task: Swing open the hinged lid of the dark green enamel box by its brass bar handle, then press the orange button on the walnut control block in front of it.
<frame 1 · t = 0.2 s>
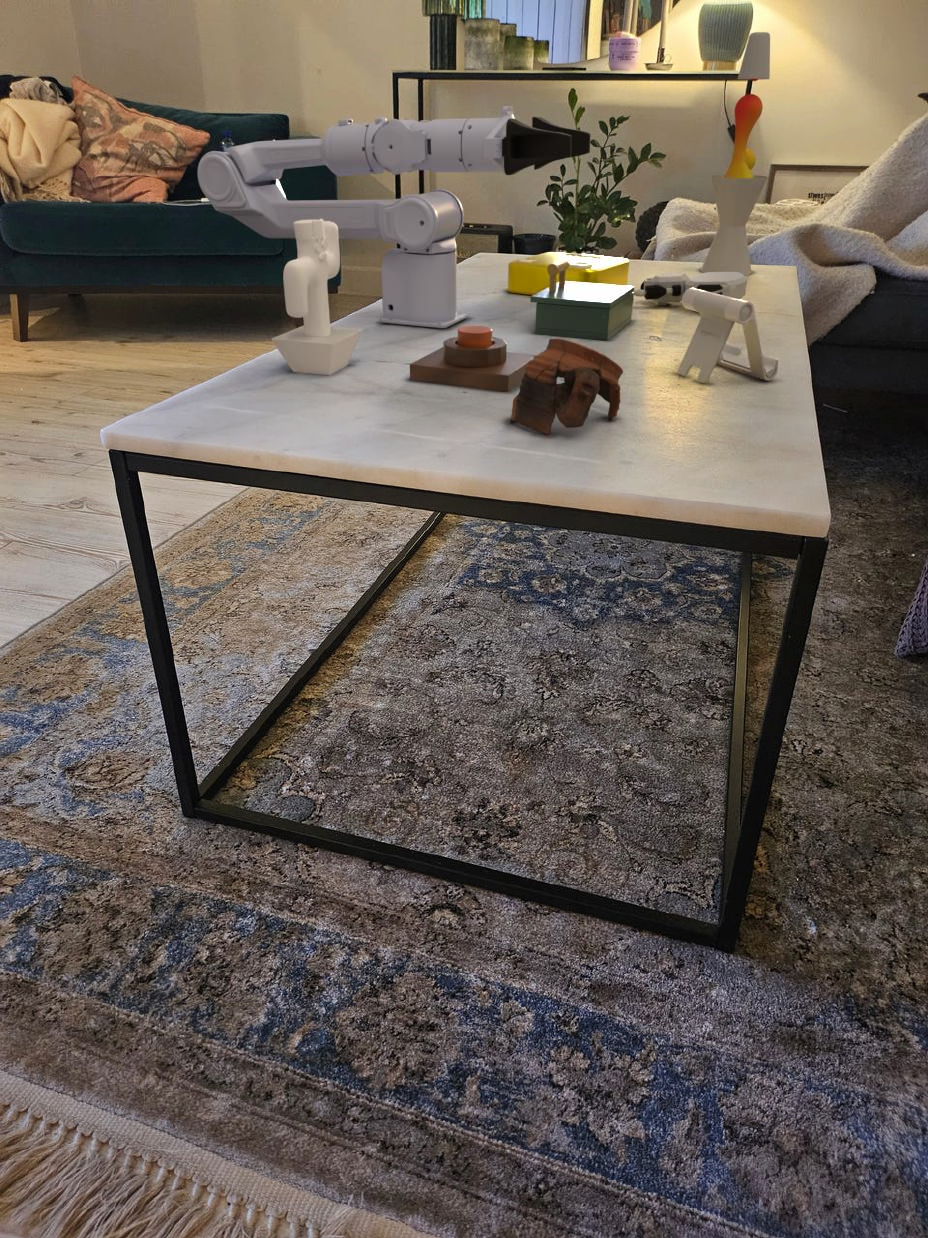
hand: (580, 144, 100), 21 cm above the table, tool horizontal, fingers open, 7 cm apart
lava lamp: (725, 272, 154), on the table
brown arched sculpture: (566, 426, 80), on the table
enamel box: (584, 327, 115), on the table
control block: (474, 375, 94), on the table
button: (474, 337, 92), point 4 cm above the table, slide at 0.1 cm
robot toy: (689, 307, 127), on the table
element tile: (567, 291, 138), on the table
tablet stand: (719, 376, 95), on the table
lid: (584, 279, 112), point 6 cm above the table, hinge at 0.0°
figurine: (320, 370, 96), on the table
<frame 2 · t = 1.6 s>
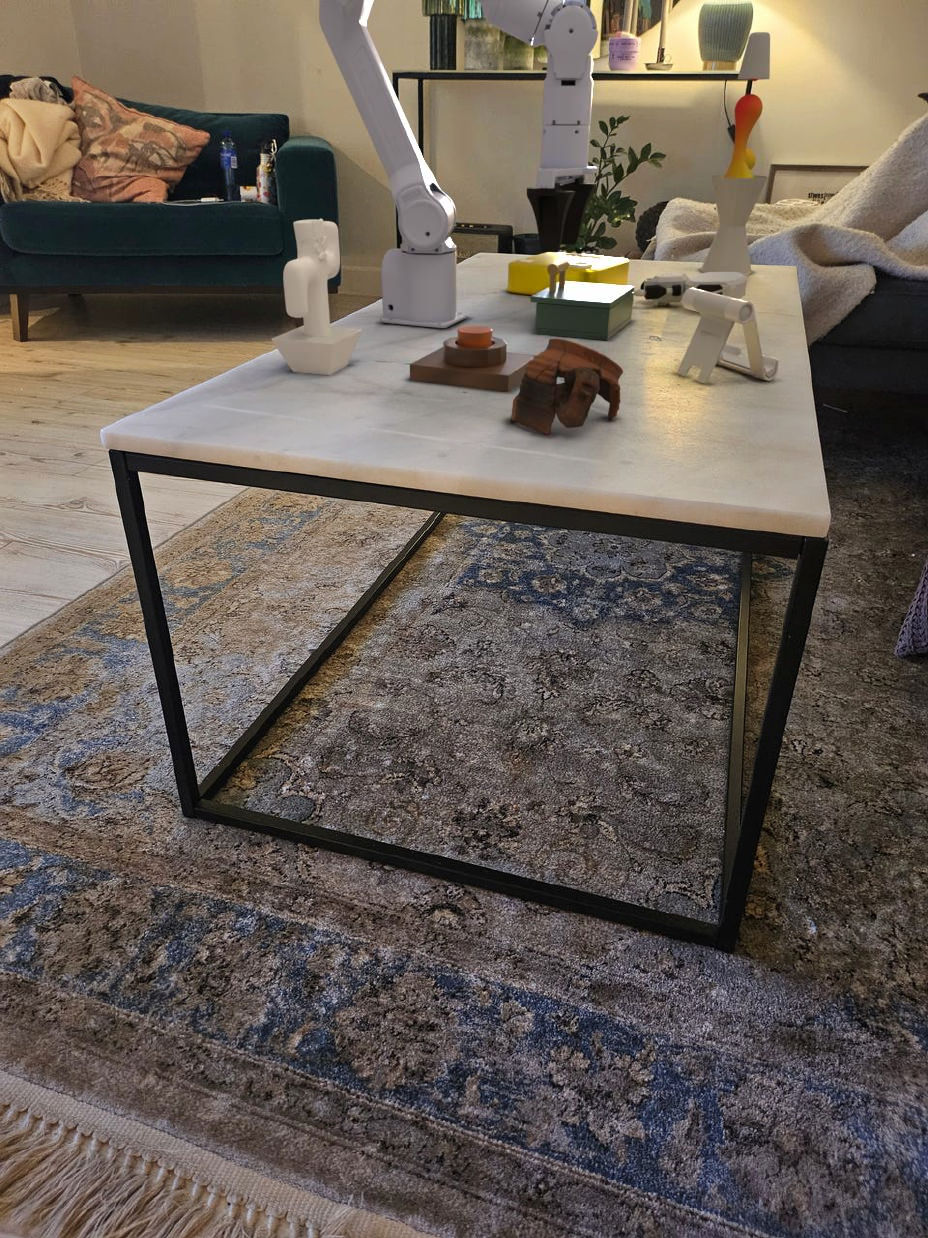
hand: (559, 247, 111), 9 cm above the table, tool pointing down, fingers open, 7 cm apart
nothing on the table moved.
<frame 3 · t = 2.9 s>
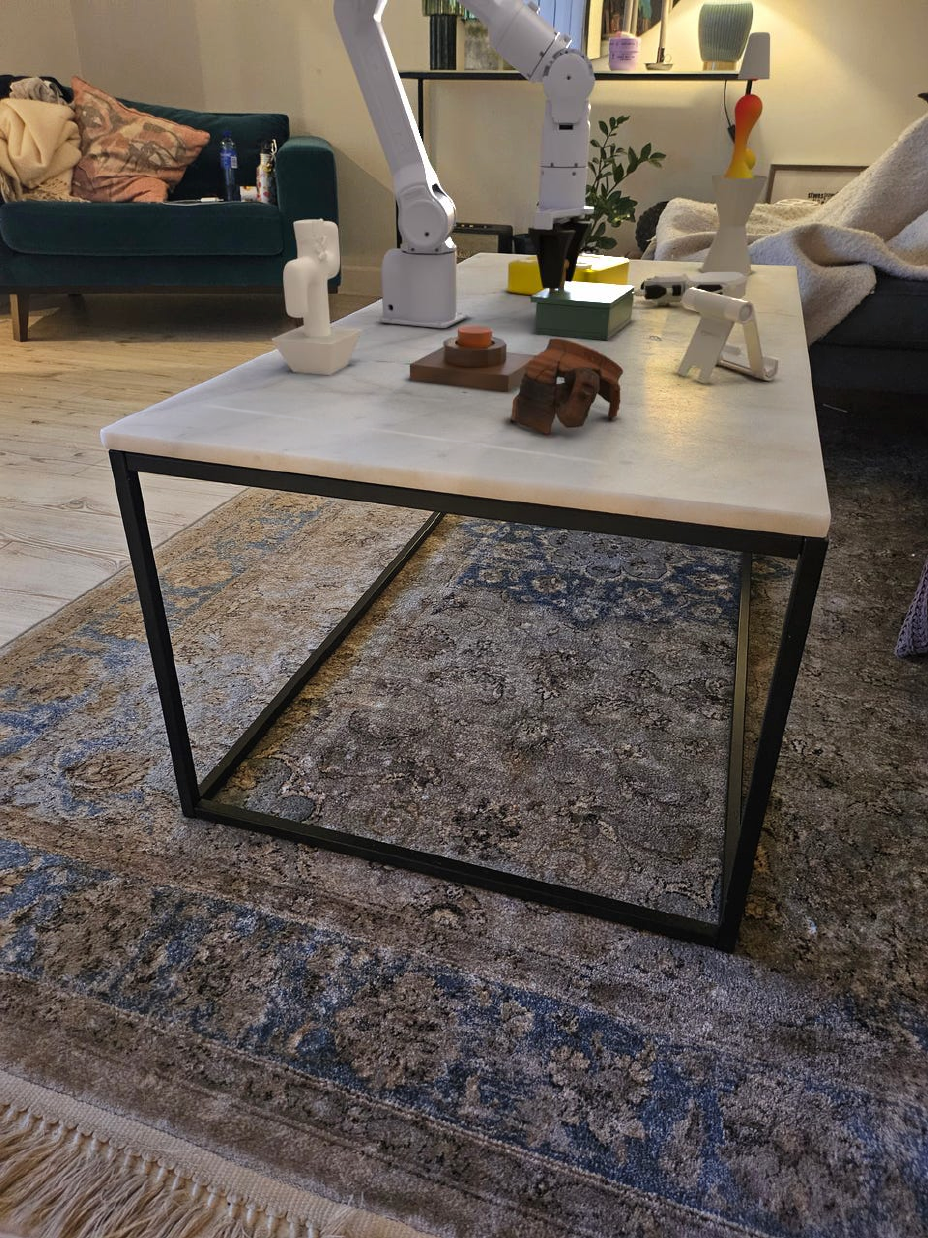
hand: (557, 284, 113), 5 cm above the table, tool pointing down, fingers closed on lid, 5 cm apart
lid: (584, 279, 112), point 6 cm above the table, hinge at 0.0°, touching gripper
everything else where it was.
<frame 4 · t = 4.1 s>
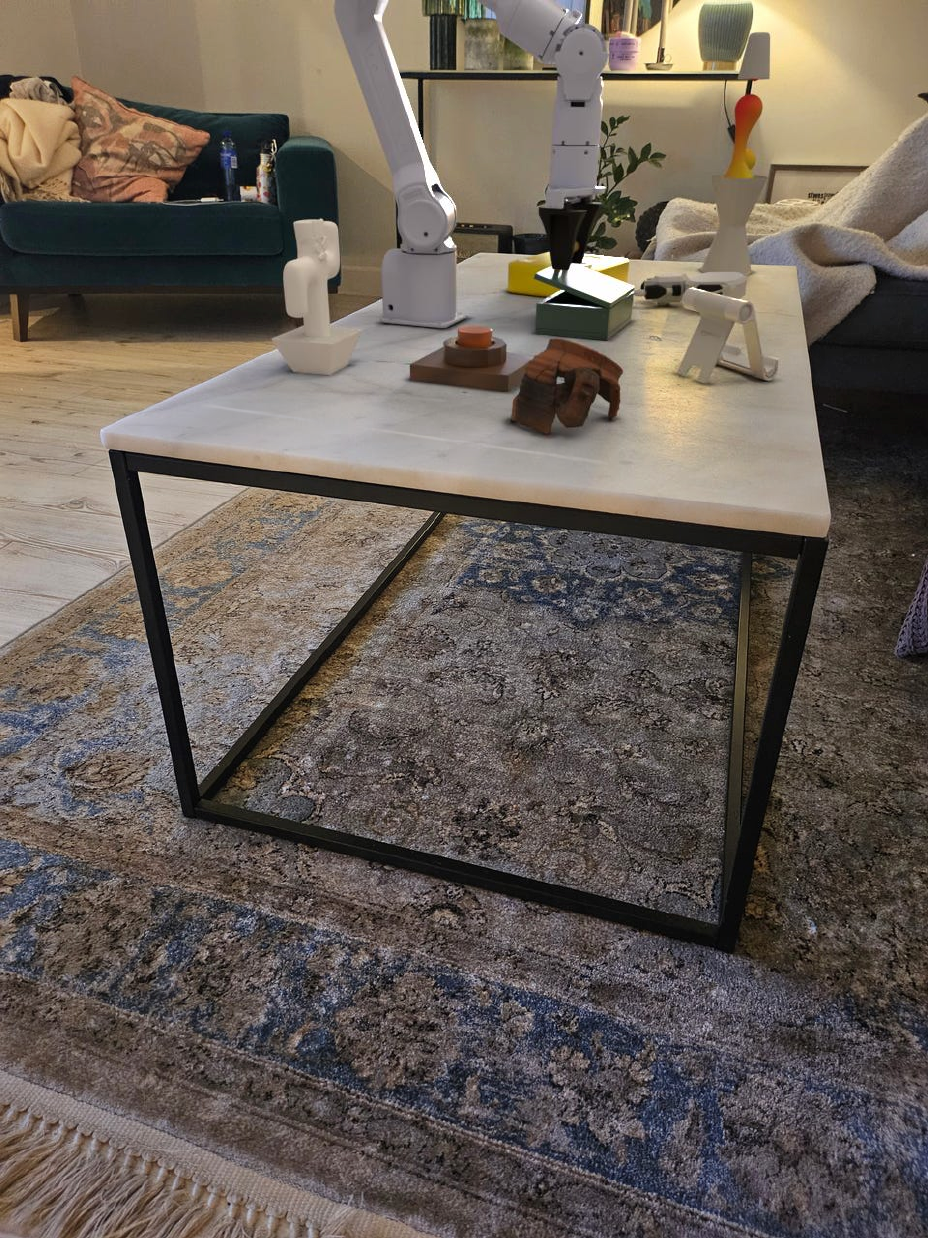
hand: (567, 266, 112), 7 cm above the table, tool pointing down, fingers closed on lid, 5 cm apart
lid: (590, 269, 111), point 7 cm above the table, hinge at 15.8°, touching gripper
everything else where it was.
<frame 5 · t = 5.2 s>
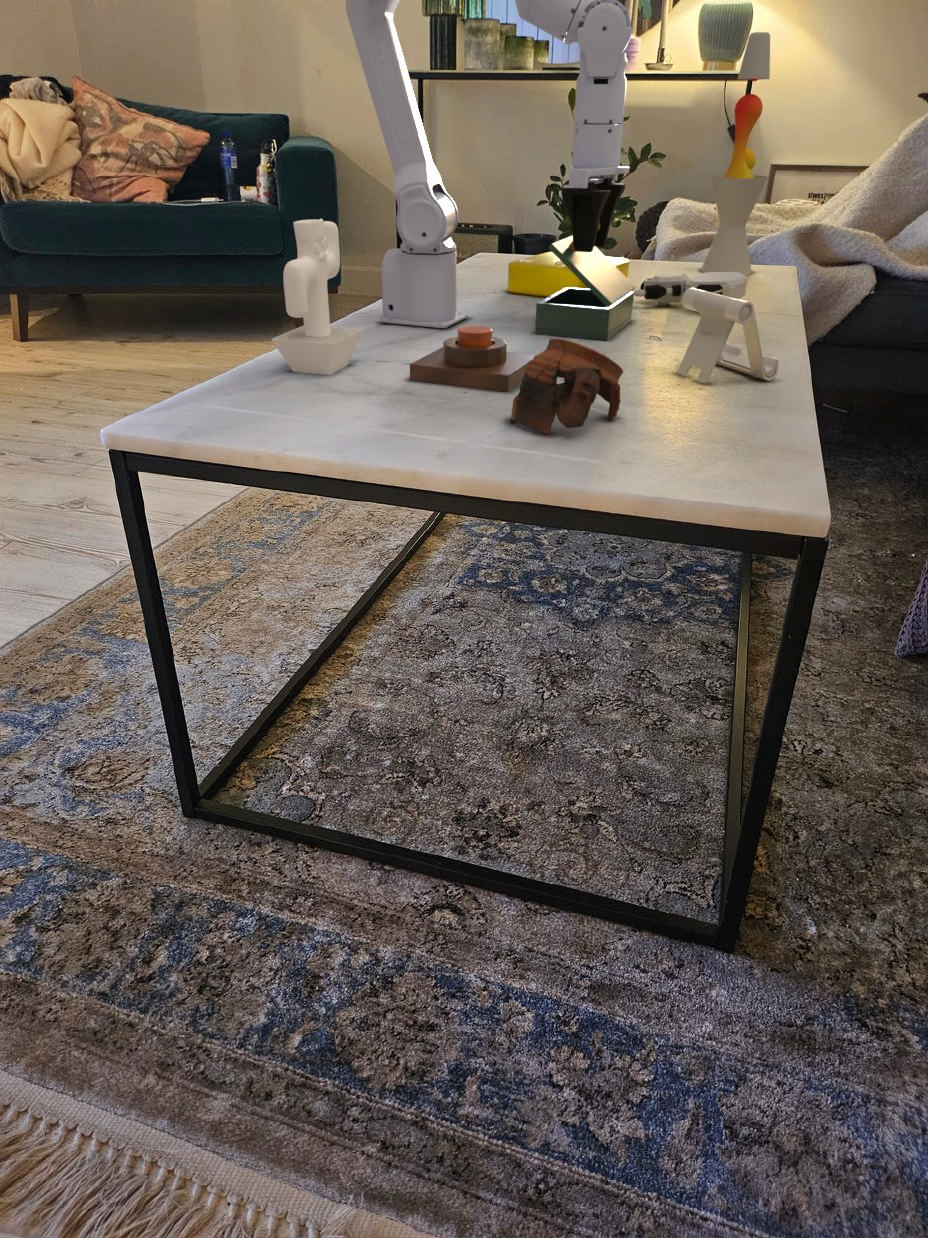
hand: (589, 248, 110), 10 cm above the table, tool pointing down, fingers closed on lid, 5 cm apart
lid: (603, 257, 110), point 9 cm above the table, hinge at 38.4°, touching gripper
everything else where it was.
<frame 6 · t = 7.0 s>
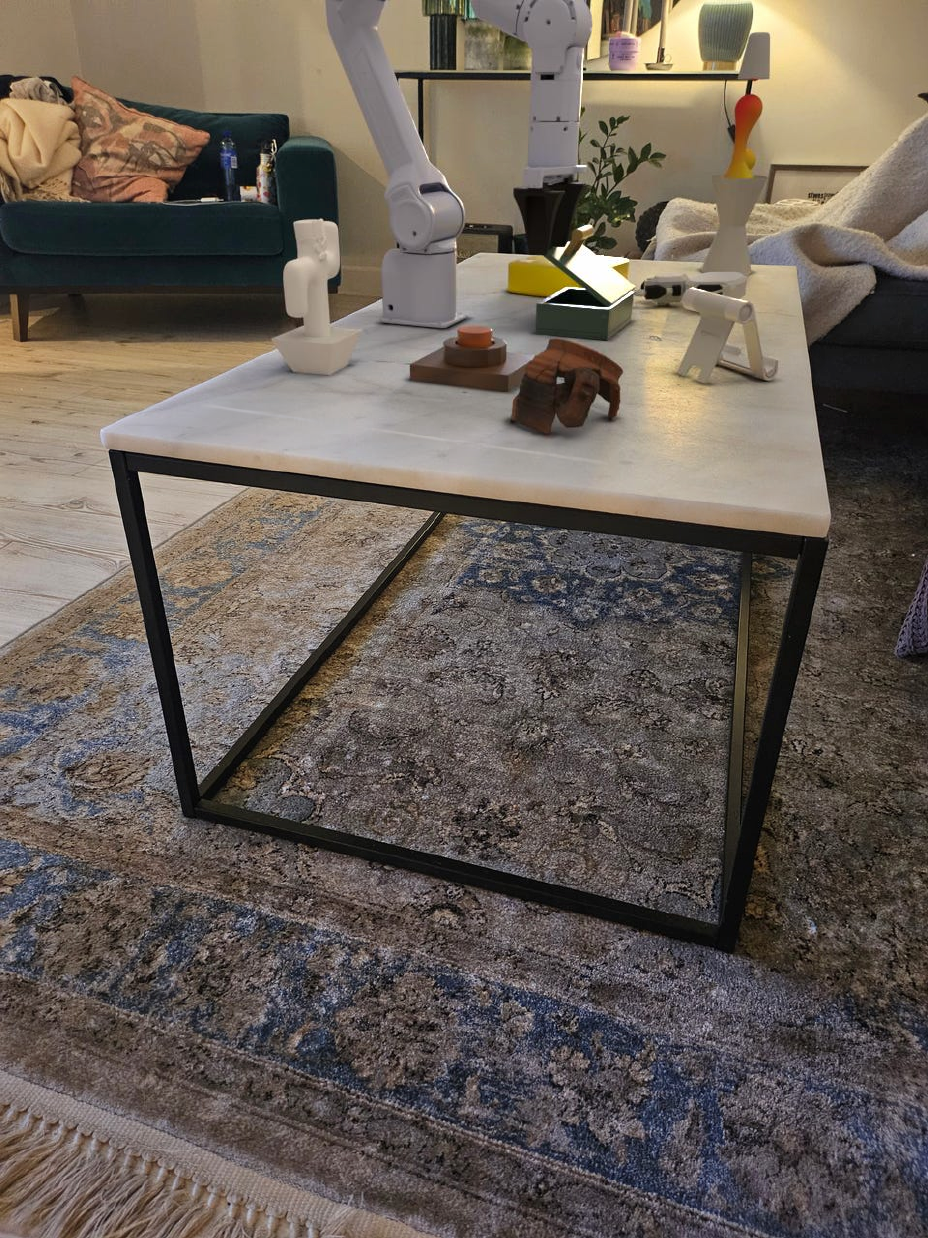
hand: (548, 250, 106), 10 cm above the table, tool pointing down, fingers open, 7 cm apart
lid: (599, 260, 110), point 8 cm above the table, hinge at 32.2°
everything else where it was.
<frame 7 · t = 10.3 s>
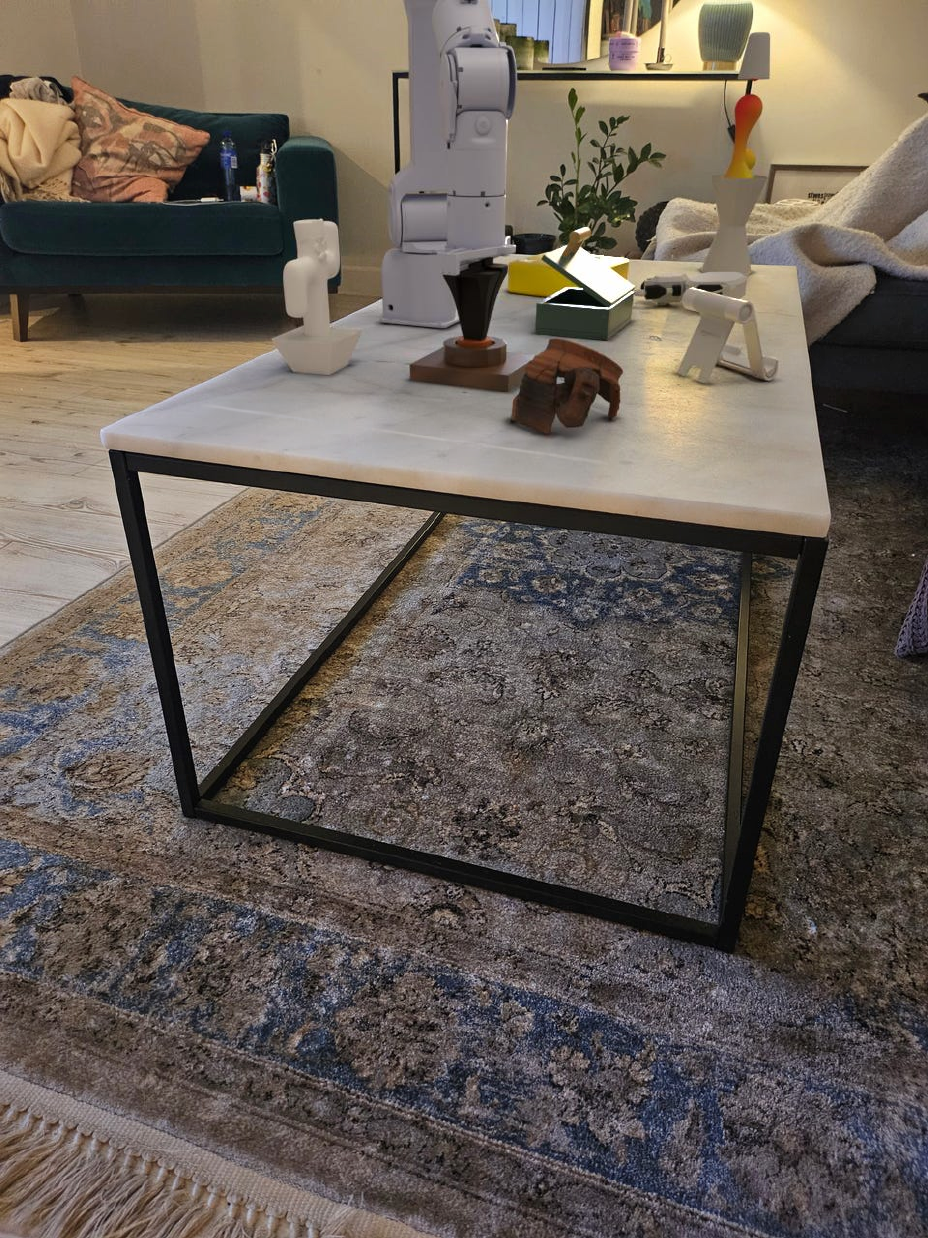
hand: (474, 338, 92), 4 cm above the table, tool pointing down, fingers closed, pressing on button
button: (474, 346, 92), point 3 cm above the table, slide at -0.8 cm, touching gripper
lid: (597, 261, 110), point 8 cm above the table, hinge at 29.5°
everything else where it was.
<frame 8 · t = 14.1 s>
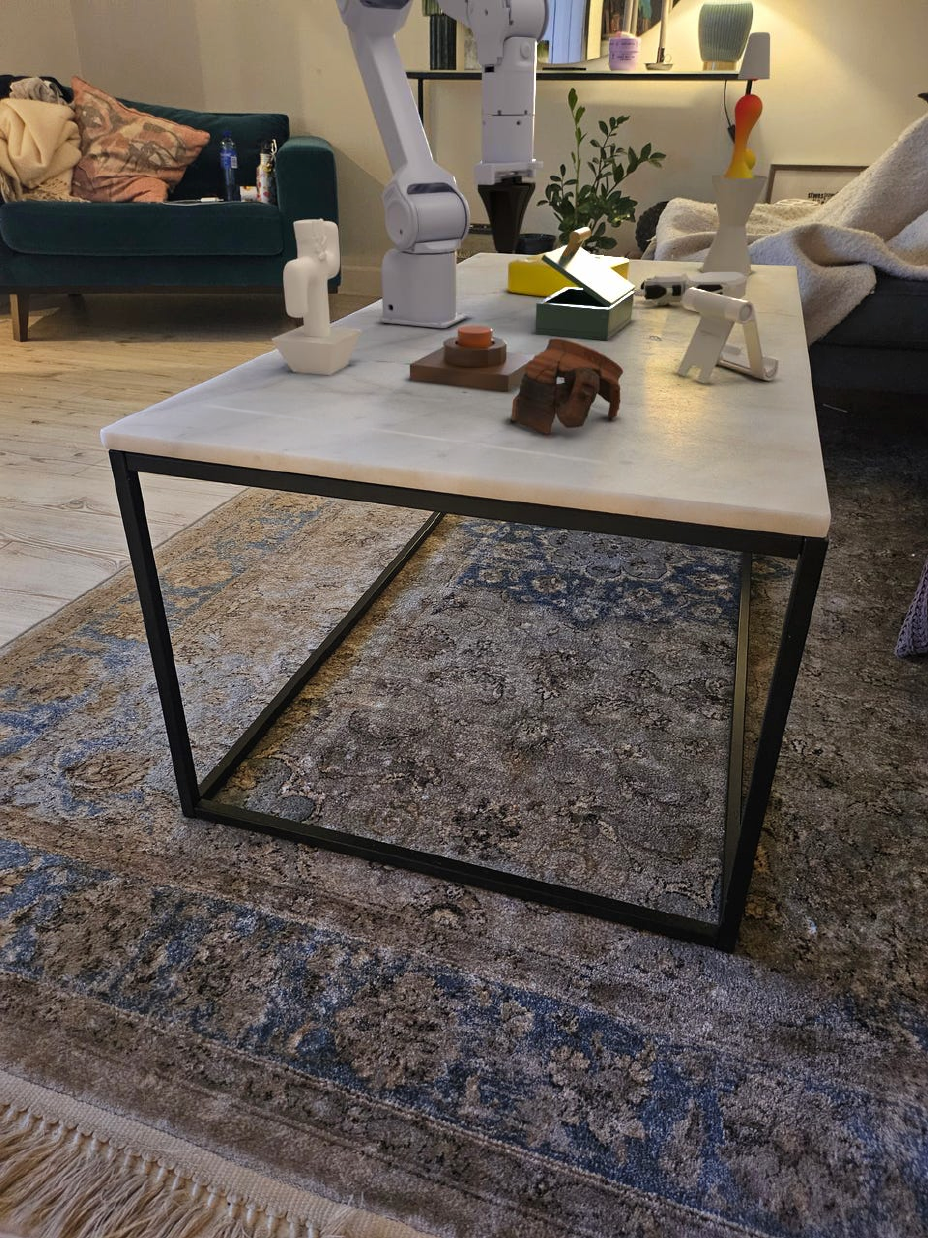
hand: (505, 250, 102), 10 cm above the table, tool pointing down, fingers closed
button: (474, 337, 92), point 4 cm above the table, slide at 0.1 cm
everything else where it was.
at the end: lid at +30° (first picture: +0°); button pushed in 1.2 cm at the most during the clip, back to where it started at the end; button slide at 0.1 cm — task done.
